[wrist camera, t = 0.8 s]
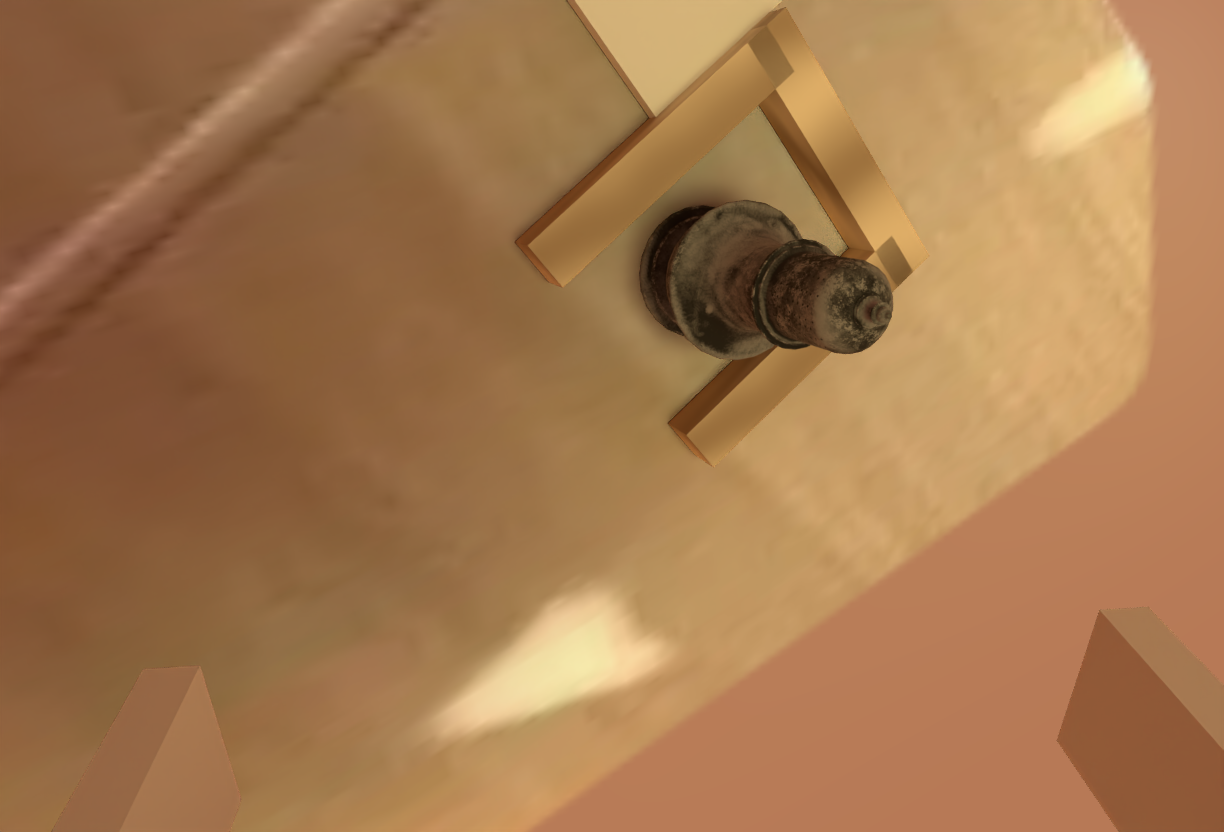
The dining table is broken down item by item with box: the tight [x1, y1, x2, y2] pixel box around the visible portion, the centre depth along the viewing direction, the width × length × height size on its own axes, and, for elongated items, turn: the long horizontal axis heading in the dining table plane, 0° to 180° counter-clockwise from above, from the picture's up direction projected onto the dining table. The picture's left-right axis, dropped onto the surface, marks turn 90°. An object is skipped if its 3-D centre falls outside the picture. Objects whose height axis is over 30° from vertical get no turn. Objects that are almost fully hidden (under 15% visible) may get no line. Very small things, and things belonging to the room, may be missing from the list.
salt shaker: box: [639, 200, 893, 360], centre depth 29 cm, size 6×6×12 cm
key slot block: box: [515, 7, 929, 467], centre depth 34 cm, size 12×13×2 cm
